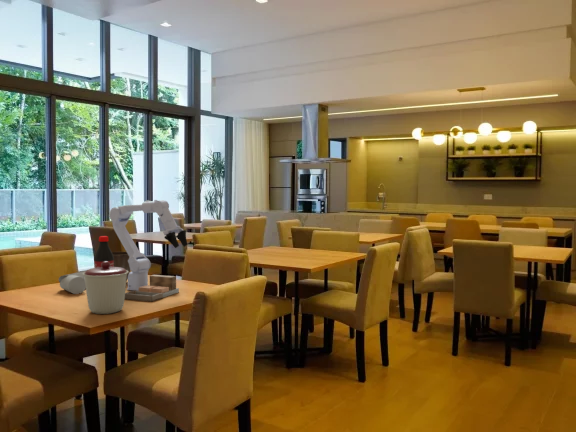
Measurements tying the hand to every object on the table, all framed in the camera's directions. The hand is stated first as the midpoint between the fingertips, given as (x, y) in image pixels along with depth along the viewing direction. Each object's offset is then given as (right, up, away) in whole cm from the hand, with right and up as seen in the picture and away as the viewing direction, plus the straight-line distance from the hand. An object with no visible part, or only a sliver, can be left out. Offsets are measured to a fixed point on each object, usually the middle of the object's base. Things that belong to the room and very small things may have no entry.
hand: (181, 246), depth 254 cm
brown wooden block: (-10, -21, +4) cm, 24 cm away
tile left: (-16, -21, -1) cm, 27 cm away
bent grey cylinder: (-54, -23, +10) cm, 60 cm away
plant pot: (-40, -22, +31) cm, 55 cm away
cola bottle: (-31, -24, -19) cm, 43 cm away
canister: (-24, -25, -36) cm, 50 cm away
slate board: (-12, -23, 0) cm, 26 cm away
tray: (-16, -24, -10) cm, 30 cm away
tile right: (-10, -21, -4) cm, 24 cm away
